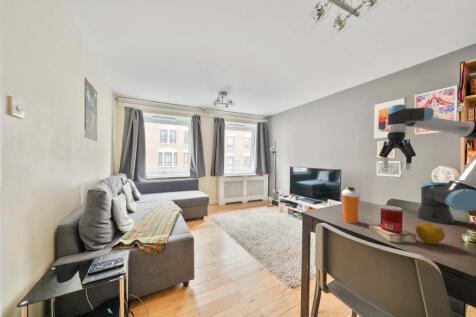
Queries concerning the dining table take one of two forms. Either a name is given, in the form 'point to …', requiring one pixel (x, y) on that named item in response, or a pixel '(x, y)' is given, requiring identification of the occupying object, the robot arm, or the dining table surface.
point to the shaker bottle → (350, 205)
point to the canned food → (391, 218)
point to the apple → (430, 233)
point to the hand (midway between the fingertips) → (395, 168)
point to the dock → (392, 234)
